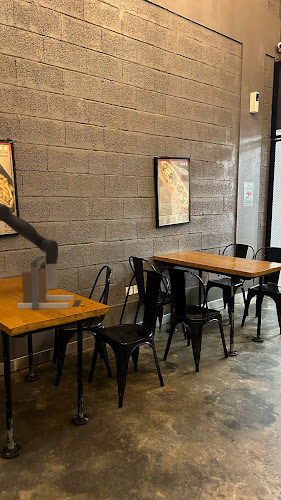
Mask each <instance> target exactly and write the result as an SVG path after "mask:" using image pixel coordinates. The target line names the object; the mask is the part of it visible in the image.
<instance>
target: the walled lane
mask: <svg viewBox="0 0 281 500" xmlns="http://www.w3.org/2000/svg"><path fill="white" fill-rule="evenodd" d="M46 301H74V295H72V294H70V295H68V294H66V295H61V294H59V295H58V294H57V295H55V294H54V295H50V294H49V295H48V294H47V295H46ZM17 309H32V303H23V302H19V303H17ZM39 309H70V302H44V303H39Z"/></svg>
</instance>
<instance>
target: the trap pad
mask: <svg viewBox="0 0 281 500" xmlns="http://www.w3.org/2000/svg"><path fill="white" fill-rule="evenodd" d="M81 303H82V299H75V300H74V302H73V304H72V305H71V307H73V308H74V307H75V308H76V307H78V308H79V307H80V305H81Z"/></svg>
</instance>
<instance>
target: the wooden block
mask: <svg viewBox="0 0 281 500" xmlns="http://www.w3.org/2000/svg"><path fill="white" fill-rule="evenodd" d="M21 273H22V274H21V277H22V278H21V280H22V281H21V282H22V303H32V283H31V267H30V268H27V269H24V270H22V272H21ZM46 301H47V300H46V287H45V269H40V268H38V303H47V302H46Z"/></svg>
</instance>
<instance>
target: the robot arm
mask: <svg viewBox="0 0 281 500" xmlns="http://www.w3.org/2000/svg"><path fill="white" fill-rule="evenodd" d="M0 221H1V222H3V223H5V224H6V225H8V227H9V228H10V229H11V230H13V231H14V232H15V233H17V234H18V235H20V237H21V236H22V237H23V239H25V240H27V241H29V242H30V243H32V244H33V245H35V247H37V248H38V249H39V250H40V251H41V252H43V253H45V256H46V284H47V290H56V289H58V259H59V245H58V243H57V241H56V240H53V239H47V238H45V237H43V236H42V235H40V233H38V231H37V229H36V228H35V226H33V225H31V223H29V222H28V221H26V220H25V219H22V218H21V217H19V216H17V215H15V214H14V213H12V212H11V211H10V208H9V206H8V205H6V204H4V203H1V202H0Z"/></svg>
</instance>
